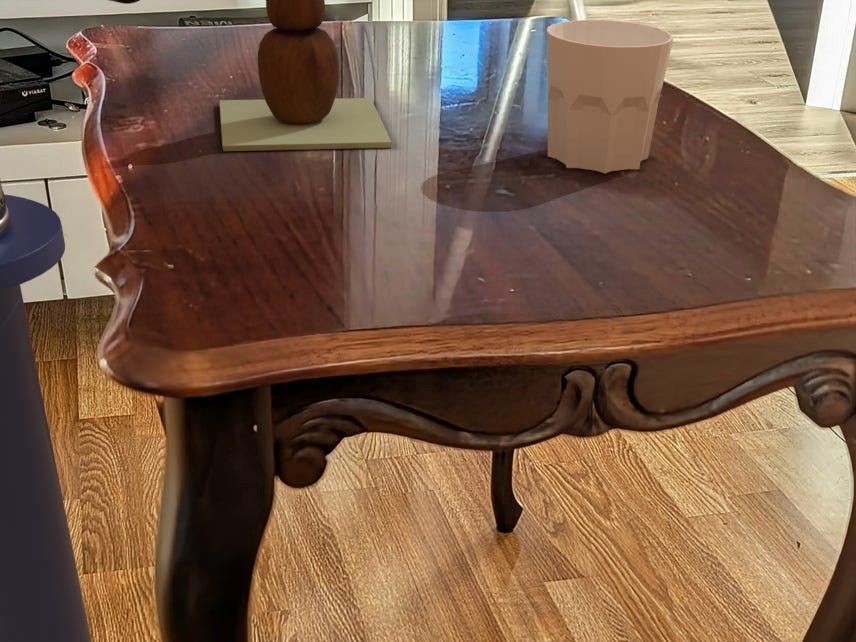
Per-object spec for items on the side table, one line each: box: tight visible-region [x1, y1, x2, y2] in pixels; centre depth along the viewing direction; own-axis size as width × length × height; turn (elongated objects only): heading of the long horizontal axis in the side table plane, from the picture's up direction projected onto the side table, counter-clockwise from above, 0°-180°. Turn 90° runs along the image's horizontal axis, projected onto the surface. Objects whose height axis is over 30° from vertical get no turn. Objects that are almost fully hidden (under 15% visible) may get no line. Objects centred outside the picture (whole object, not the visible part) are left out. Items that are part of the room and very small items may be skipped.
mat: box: [218, 97, 393, 152], centre depth 101 cm, size 14×14×1 cm
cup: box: [546, 19, 674, 174], centre depth 94 cm, size 10×10×10 cm
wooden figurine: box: [257, 0, 340, 124], centre depth 97 cm, size 7×6×15 cm
